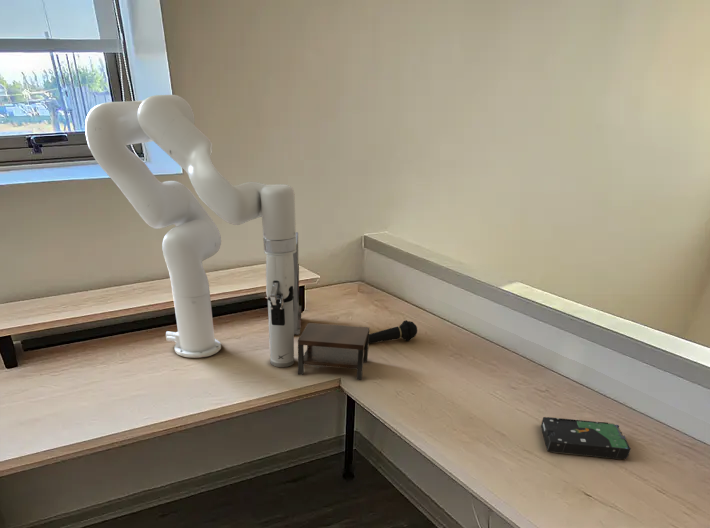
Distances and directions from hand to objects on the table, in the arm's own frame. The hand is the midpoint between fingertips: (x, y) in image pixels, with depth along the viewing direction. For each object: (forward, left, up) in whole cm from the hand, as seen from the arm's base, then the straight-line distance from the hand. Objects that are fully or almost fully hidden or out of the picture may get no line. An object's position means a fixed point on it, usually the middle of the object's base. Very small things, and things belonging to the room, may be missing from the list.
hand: (283, 318), depth 138 cm
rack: (+13, 0, -12) cm, 18 cm away
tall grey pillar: (-5, +26, -12) cm, 29 cm away
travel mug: (-1, 0, -12) cm, 12 cm away
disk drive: (+68, -26, -12) cm, 74 cm away
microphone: (+23, +20, -12) cm, 33 cm away
